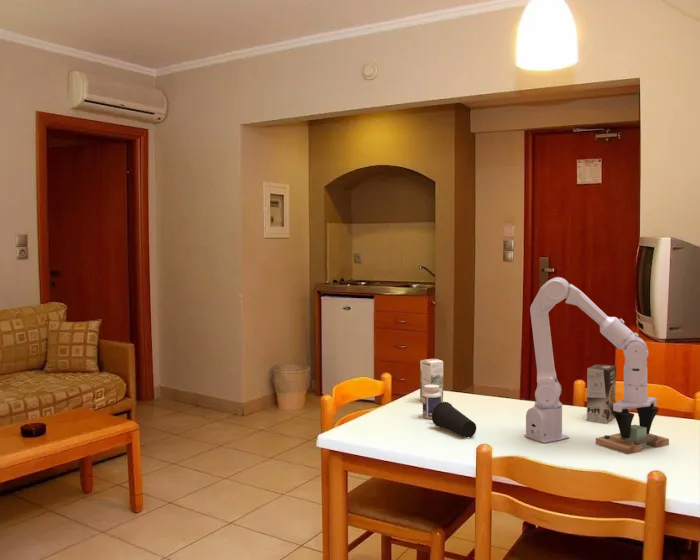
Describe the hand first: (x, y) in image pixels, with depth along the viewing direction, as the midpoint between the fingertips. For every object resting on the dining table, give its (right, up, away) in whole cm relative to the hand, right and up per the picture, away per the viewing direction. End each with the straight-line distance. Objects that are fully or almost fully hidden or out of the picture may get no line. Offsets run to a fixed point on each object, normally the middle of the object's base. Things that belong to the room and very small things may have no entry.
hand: (635, 435), depth 170 cm
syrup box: (-47, -1, +52) cm, 70 cm away
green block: (0, -3, 0) cm, 3 cm away
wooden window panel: (0, -3, +1) cm, 3 cm away
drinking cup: (-42, 0, +8) cm, 43 cm away
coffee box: (+2, -2, +27) cm, 27 cm away
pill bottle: (-50, -2, +31) cm, 59 cm away
